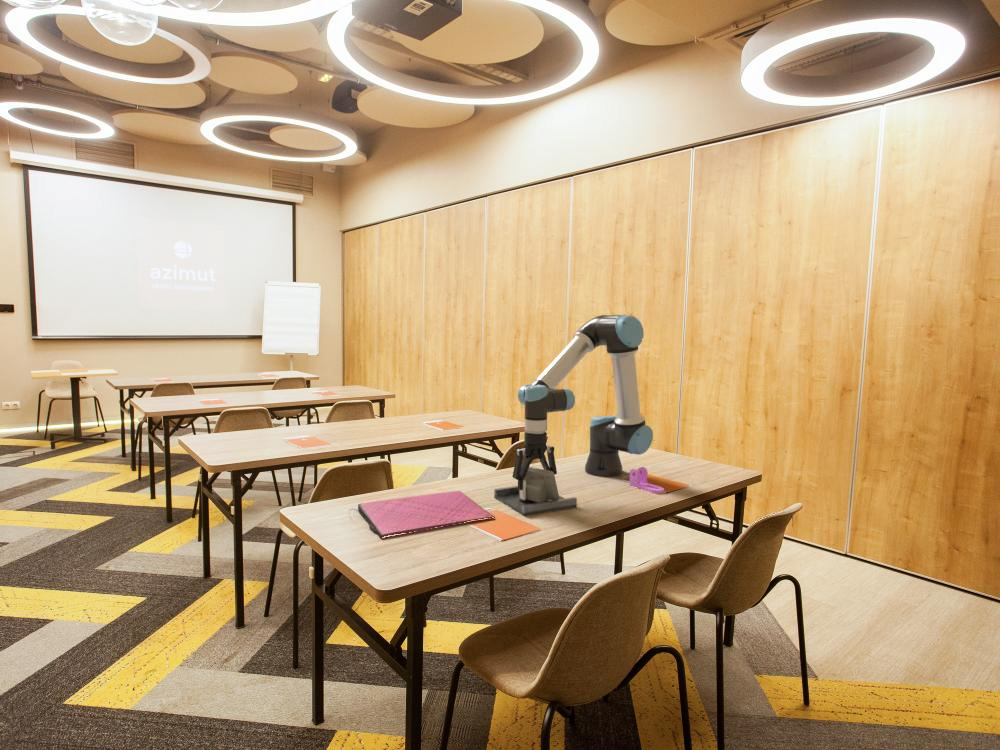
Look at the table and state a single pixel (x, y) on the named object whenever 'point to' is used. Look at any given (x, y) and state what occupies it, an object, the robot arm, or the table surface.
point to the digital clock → (540, 485)
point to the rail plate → (531, 502)
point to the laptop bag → (420, 512)
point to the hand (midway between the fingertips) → (534, 496)
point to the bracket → (643, 481)
